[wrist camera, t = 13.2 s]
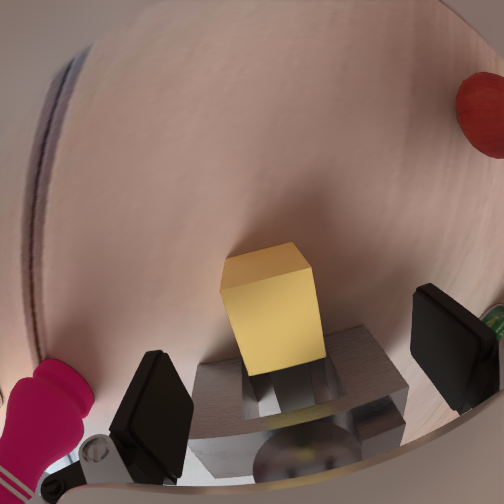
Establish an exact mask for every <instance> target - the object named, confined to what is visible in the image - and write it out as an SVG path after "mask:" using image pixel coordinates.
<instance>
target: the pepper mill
mask: <svg viewBox="0 0 504 504" xmlns="http://www.w3.org/2000/svg"><path fill="white" fill-rule="evenodd" d="M93 403H94V397H93V394H92V391H91V389H90V387H89V386H88V384H87V383H86V381H85V380H84V379H83V378H82V377H81V376H80V375H79V374H78V373H77V372H76V371H75V370H73V369H72V368H71V367H69V366H68V365H66V364H65V363H63V362H60V361H58V360H55V359H45V360H43V361H42V362H41V363H40V365H39V366H38V367H37V368H36V369H35V370H34V372H33V378H32V377H27V378H23V379H20V380H19V381H18V382H17V383H16V385H15V386H14V388H13V389H12V391H11V393H10V396H9V399H8V404H7V411H6V420H5V426H4V430H3V433H2V436H1V438H0V504H25V503H26V502H27V501H28V500H30V499H31V498H32V497H33V496H34V495H35V490H36V487H37V483H38V481H39V479H40V477H41V476H42V474H43V472H44V471H45V470H46V469H47V468H48V467H49V466H50V465H51V464H53V463H54V462H56V461H57V460H59V459H61V458H62V457H64V456H66V455H67V454H69V453H70V452H71V451H72V450H73V449H75V448H76V447H77V445H78V444H79V442H80V441H81V439H82V438H83V435H84V425H83V421H82V419H83V418H85V417H86V416H87V415H88V413H89V411H90V409H91V407H92V405H93Z"/></svg>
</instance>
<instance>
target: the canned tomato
mask: <svg viewBox="0 0 504 504" xmlns="http://www.w3.org/2000/svg"><path fill="white" fill-rule="evenodd" d="M479 319H480V320H481V321H482V322H484V323H485V324H486V325H487V326H489V327H490V328H491V329H492V330H494V331H495V332H496V333H497V338H496V339H497V340H498V341H500V339H501V338H502V337H503V336H504V305H503V304H496V305H494V306H492V307H491V308H489V309H488V310H487V311H486V312H485V313H484V314H483V315H482V316H481V317H480V318H479Z"/></svg>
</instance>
